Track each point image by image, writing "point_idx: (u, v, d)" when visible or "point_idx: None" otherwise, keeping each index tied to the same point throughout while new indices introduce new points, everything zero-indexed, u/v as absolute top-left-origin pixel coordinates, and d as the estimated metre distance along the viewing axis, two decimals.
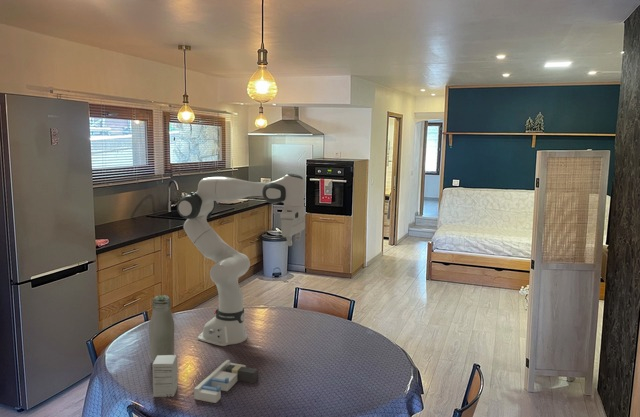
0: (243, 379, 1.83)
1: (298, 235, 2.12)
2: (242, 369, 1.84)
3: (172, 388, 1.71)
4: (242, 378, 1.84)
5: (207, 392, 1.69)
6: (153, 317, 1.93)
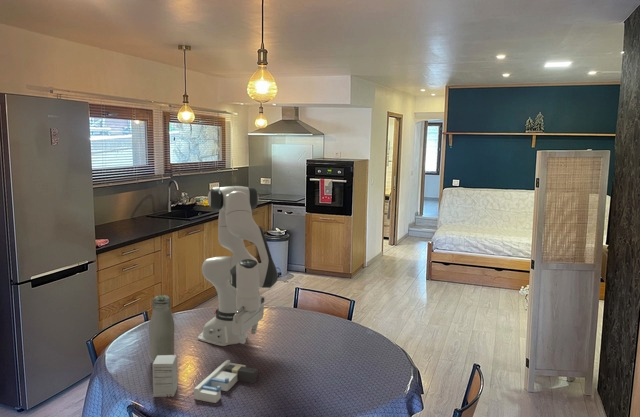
0: (243, 379, 1.83)
1: None
2: (242, 369, 1.84)
3: (172, 388, 1.71)
4: (242, 378, 1.84)
5: (207, 392, 1.69)
6: (153, 317, 1.93)
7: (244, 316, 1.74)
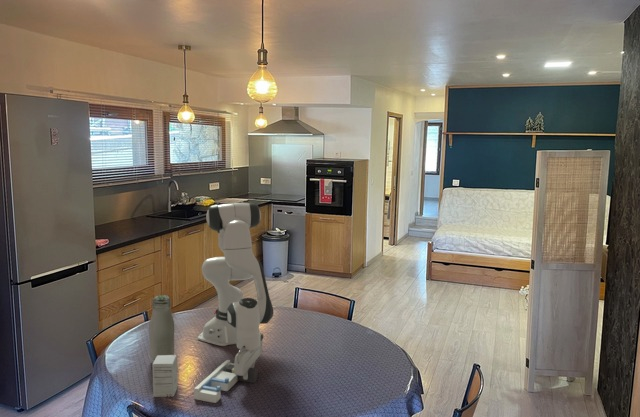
0: (243, 379, 1.83)
1: None
2: None
3: (172, 388, 1.71)
4: (242, 378, 1.84)
5: (207, 392, 1.69)
6: (153, 317, 1.93)
7: (245, 356, 1.76)
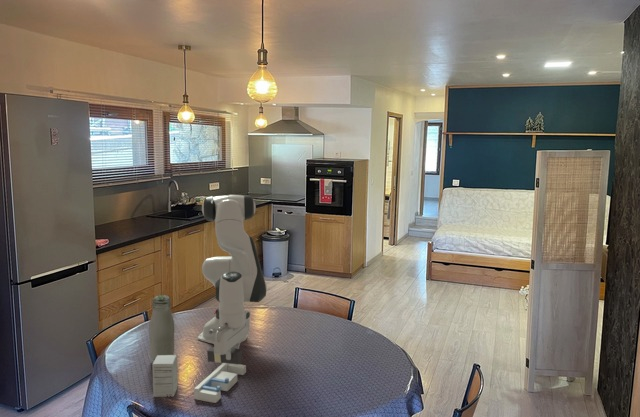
0: (227, 361, 1.69)
1: None
2: None
3: (172, 388, 1.71)
4: (226, 360, 1.69)
5: (207, 392, 1.69)
6: (153, 317, 1.93)
7: (227, 333, 1.62)
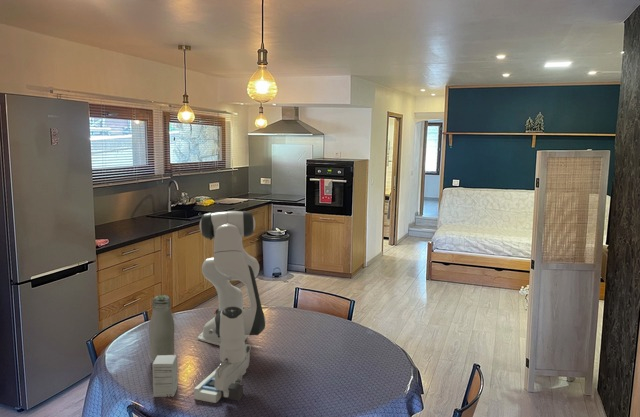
0: None
1: None
2: None
3: (172, 388, 1.71)
4: None
5: (207, 392, 1.69)
6: (153, 317, 1.93)
7: (227, 369, 1.63)
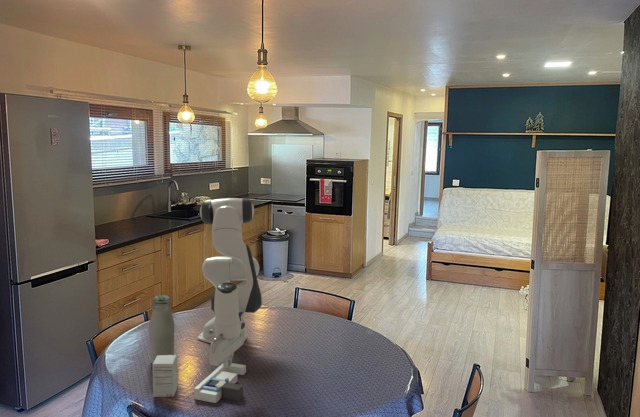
0: (227, 396, 1.71)
1: None
2: (226, 385, 1.72)
3: (172, 388, 1.71)
4: (226, 395, 1.71)
5: (207, 392, 1.69)
6: (153, 317, 1.93)
7: (221, 344, 1.63)
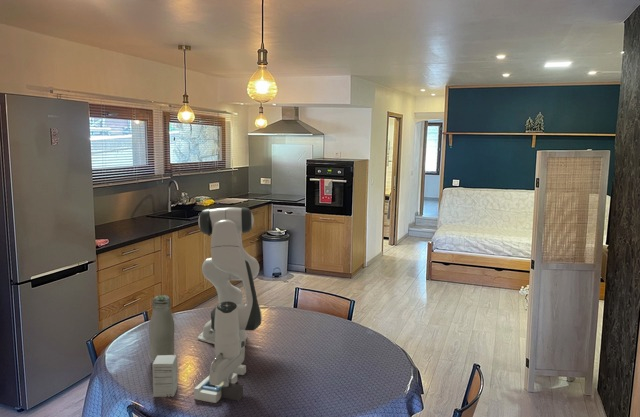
0: (227, 396, 1.71)
1: None
2: None
3: (172, 388, 1.71)
4: (226, 395, 1.71)
5: (207, 392, 1.69)
6: (153, 317, 1.93)
7: (222, 364, 1.64)
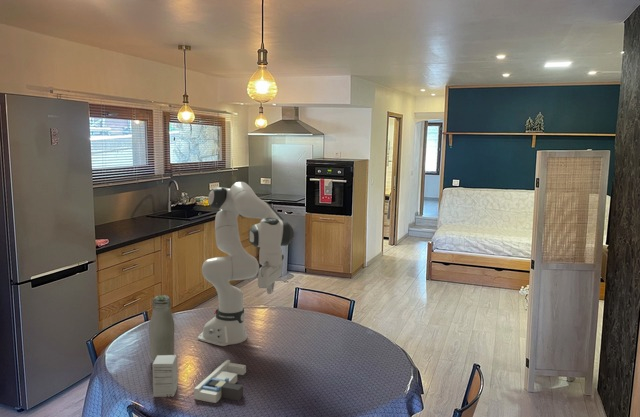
0: (227, 396, 1.71)
1: None
2: (226, 385, 1.72)
3: (172, 388, 1.71)
4: (226, 395, 1.71)
5: (207, 392, 1.69)
6: (153, 317, 1.93)
7: (268, 269, 1.83)
